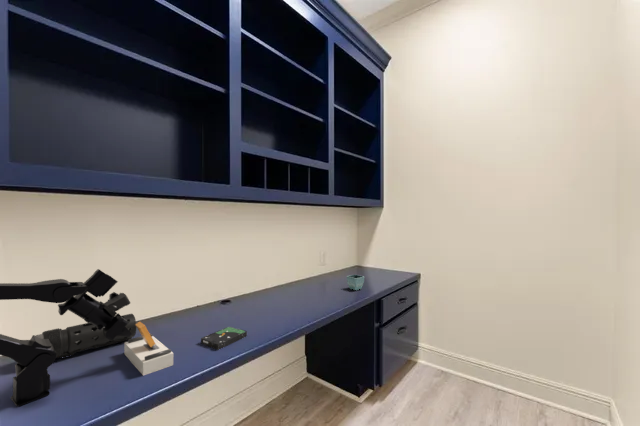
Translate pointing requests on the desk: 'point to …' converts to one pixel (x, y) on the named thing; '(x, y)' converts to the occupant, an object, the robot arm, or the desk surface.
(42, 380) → the robot arm
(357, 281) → the flower pot
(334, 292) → the desk surface
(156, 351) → the block
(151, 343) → the lever
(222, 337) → the disk drive
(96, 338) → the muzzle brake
